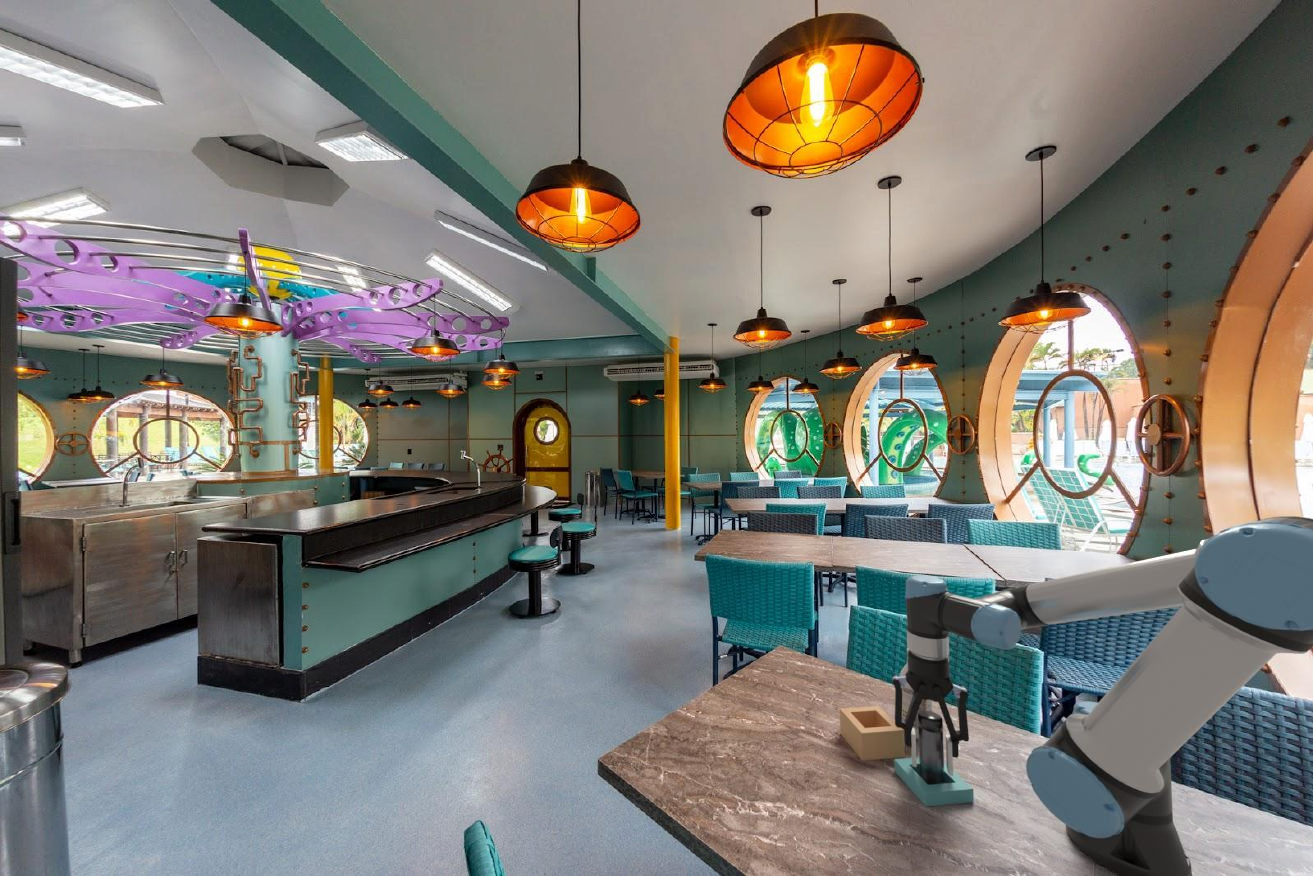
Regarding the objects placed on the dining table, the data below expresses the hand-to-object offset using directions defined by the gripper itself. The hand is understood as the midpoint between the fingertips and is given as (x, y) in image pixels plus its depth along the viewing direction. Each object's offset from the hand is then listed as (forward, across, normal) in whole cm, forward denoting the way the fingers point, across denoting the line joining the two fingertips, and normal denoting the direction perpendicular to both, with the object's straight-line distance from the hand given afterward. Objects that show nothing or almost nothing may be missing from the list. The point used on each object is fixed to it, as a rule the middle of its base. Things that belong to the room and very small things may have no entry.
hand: (931, 766), depth 95 cm
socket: (+4, +11, -10) cm, 15 cm away
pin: (+4, 0, 0) cm, 4 cm away
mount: (+4, 0, 0) cm, 4 cm away
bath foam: (+4, +1, -20) cm, 20 cm away
